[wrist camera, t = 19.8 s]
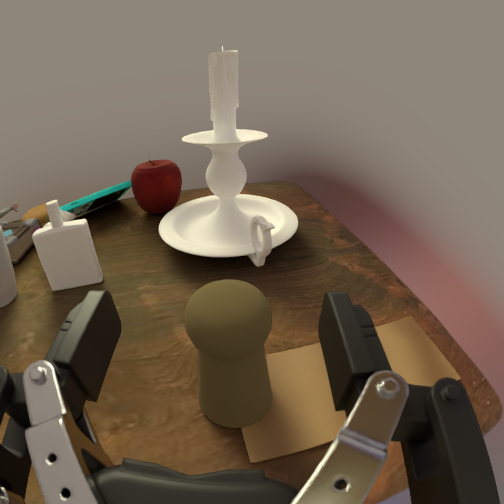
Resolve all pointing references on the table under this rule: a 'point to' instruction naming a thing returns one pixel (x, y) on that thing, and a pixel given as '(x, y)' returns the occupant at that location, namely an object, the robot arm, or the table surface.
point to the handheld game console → (96, 199)
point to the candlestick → (227, 186)
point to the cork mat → (319, 392)
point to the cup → (6, 274)
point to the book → (19, 237)
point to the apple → (156, 185)
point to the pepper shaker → (231, 351)
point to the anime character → (9, 209)
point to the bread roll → (38, 214)
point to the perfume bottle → (67, 251)
